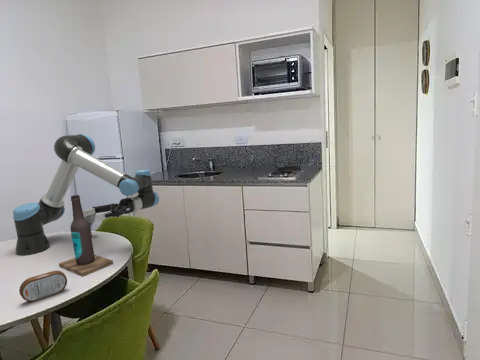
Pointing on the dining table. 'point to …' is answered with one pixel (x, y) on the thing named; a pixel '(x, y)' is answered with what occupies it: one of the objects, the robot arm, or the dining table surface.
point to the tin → (43, 286)
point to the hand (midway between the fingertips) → (88, 216)
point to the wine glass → (91, 220)
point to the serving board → (88, 268)
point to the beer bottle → (81, 234)
